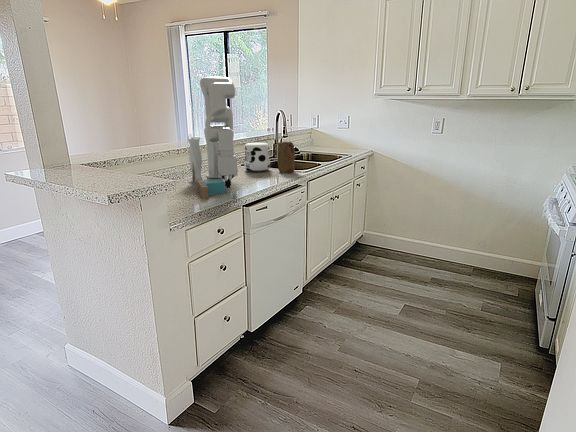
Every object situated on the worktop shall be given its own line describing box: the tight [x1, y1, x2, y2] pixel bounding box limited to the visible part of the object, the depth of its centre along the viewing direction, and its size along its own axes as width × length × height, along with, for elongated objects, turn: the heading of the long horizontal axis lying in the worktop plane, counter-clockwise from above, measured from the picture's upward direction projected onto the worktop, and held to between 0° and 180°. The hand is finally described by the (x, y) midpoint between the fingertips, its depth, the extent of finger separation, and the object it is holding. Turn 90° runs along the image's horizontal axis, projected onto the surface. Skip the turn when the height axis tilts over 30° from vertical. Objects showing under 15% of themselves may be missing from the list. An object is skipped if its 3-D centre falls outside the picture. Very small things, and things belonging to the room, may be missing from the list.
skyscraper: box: [187, 133, 204, 185], centre depth 221 cm, size 8×8×28 cm
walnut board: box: [196, 178, 210, 200], centre depth 199 cm, size 20×3×6 cm, turn 21°
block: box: [277, 141, 296, 174], centre depth 250 cm, size 11×8×20 cm
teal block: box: [203, 178, 226, 195], centre depth 203 cm, size 8×10×6 cm
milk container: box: [244, 142, 271, 173], centre depth 255 cm, size 17×17×18 cm
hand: (228, 187), depth 205 cm, fingers closed
